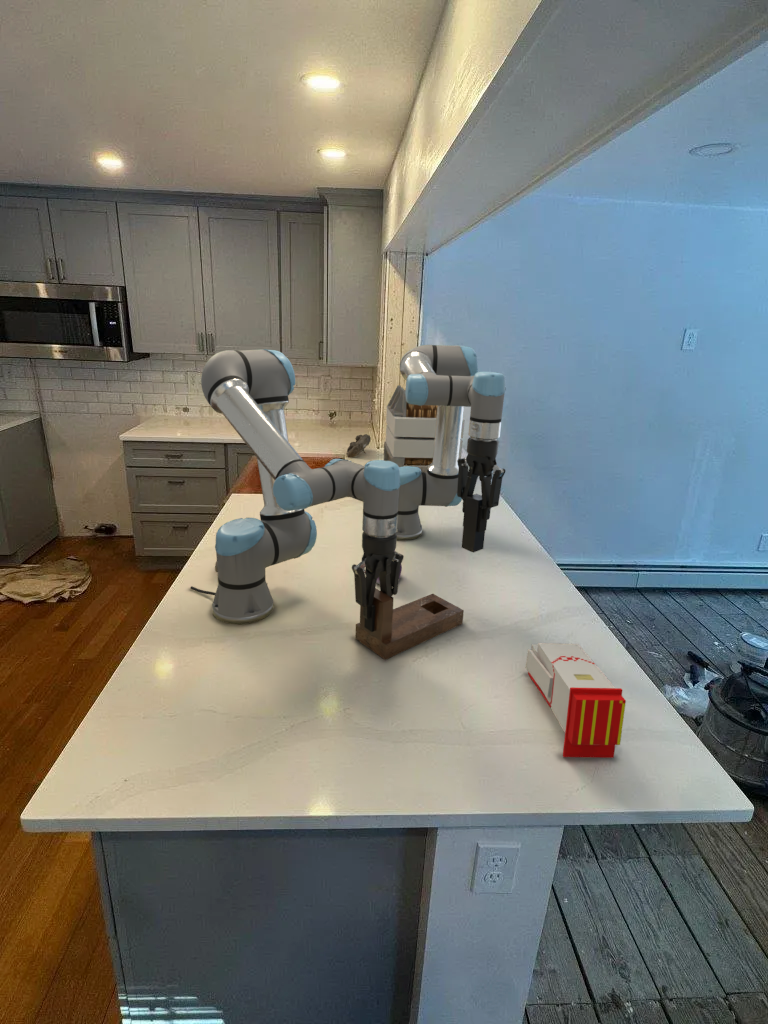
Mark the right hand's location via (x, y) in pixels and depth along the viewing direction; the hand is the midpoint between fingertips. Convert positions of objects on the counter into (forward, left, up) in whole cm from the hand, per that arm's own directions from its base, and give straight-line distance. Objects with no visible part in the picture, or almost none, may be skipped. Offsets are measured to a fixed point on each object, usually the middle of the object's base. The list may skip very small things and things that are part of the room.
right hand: (474, 528), depth 145 cm
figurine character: (-57, -40, -23) cm, 73 cm away
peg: (0, 0, -6) cm, 6 cm away
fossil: (-148, +80, -23) cm, 170 cm away
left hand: (0, -32, -17) cm, 36 cm away
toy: (+40, -15, -23) cm, 48 cm away
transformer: (-102, +81, -23) cm, 132 cm away
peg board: (0, -20, -23) cm, 31 cm away
